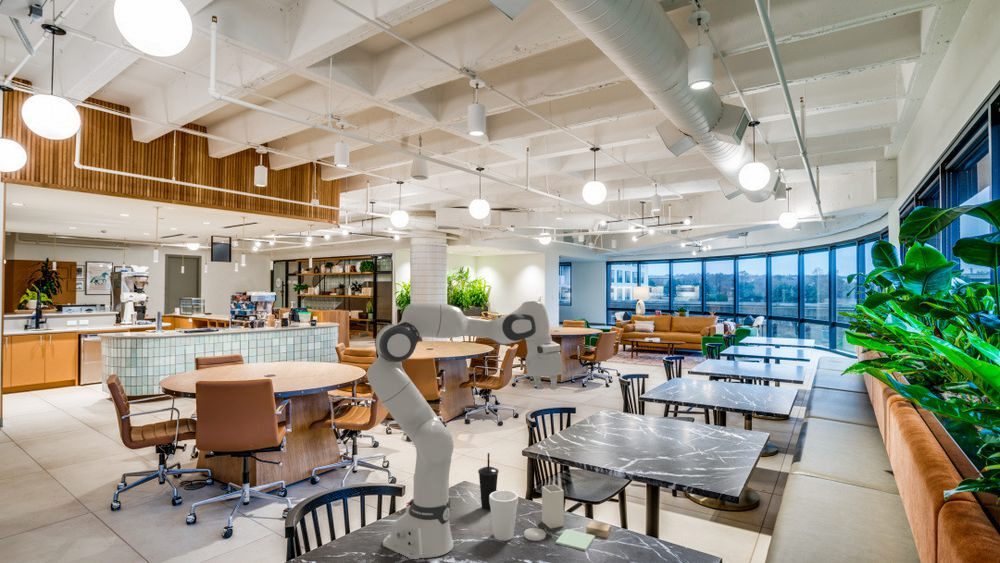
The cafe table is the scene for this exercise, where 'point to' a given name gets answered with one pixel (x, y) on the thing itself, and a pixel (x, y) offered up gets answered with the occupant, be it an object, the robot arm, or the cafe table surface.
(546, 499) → the canister
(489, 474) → the drinking cup
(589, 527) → the oak block
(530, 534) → the white pebble stone
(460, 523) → the cafe table surface
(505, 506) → the foam cup
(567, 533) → the mat
